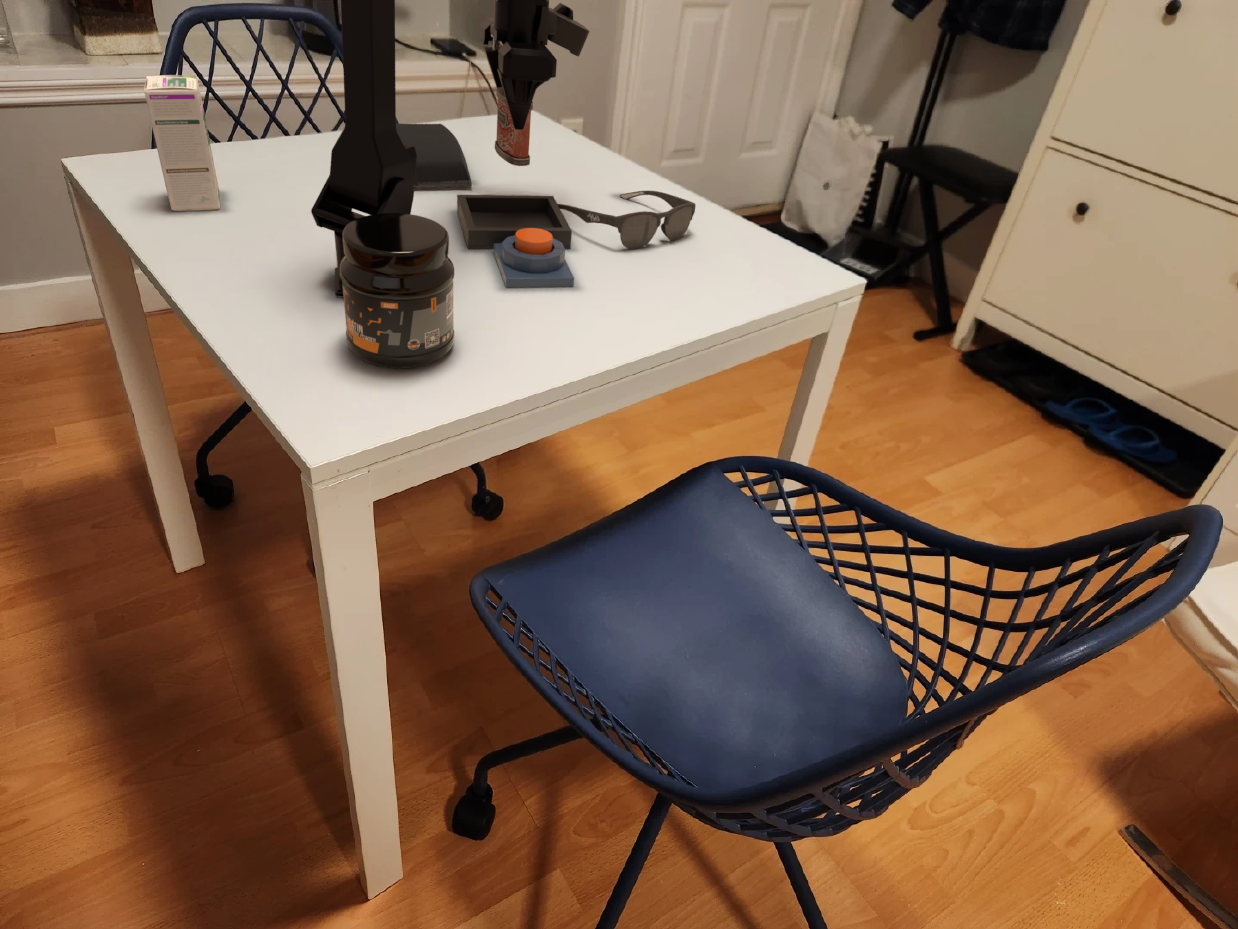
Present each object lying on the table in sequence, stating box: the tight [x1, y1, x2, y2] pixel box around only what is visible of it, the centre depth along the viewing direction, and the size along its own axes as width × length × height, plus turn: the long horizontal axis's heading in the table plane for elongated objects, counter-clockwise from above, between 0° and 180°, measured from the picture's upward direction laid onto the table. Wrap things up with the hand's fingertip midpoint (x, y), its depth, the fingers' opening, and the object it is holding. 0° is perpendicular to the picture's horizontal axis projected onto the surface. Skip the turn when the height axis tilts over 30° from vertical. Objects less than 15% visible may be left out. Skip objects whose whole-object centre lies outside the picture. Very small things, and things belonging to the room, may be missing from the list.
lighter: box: [494, 87, 534, 167], centre depth 109 cm, size 8×3×10 cm, turn 25°
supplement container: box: [340, 213, 456, 369], centre depth 83 cm, size 10×10×12 cm
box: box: [492, 235, 575, 289], centre depth 103 cm, size 10×8×3 cm
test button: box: [515, 228, 553, 255], centre depth 102 cm, size 4×4×2 cm
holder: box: [456, 194, 573, 250], centre depth 112 cm, size 12×13×2 cm
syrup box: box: [143, 74, 221, 212], centre depth 105 cm, size 6×6×14 cm
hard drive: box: [396, 123, 473, 188], centre depth 127 cm, size 13×19×4 cm
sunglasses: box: [557, 190, 696, 250], centre depth 118 cm, size 16×17×5 cm
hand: (513, 119), depth 109 cm, fingers closed on lighter, 8 cm apart
